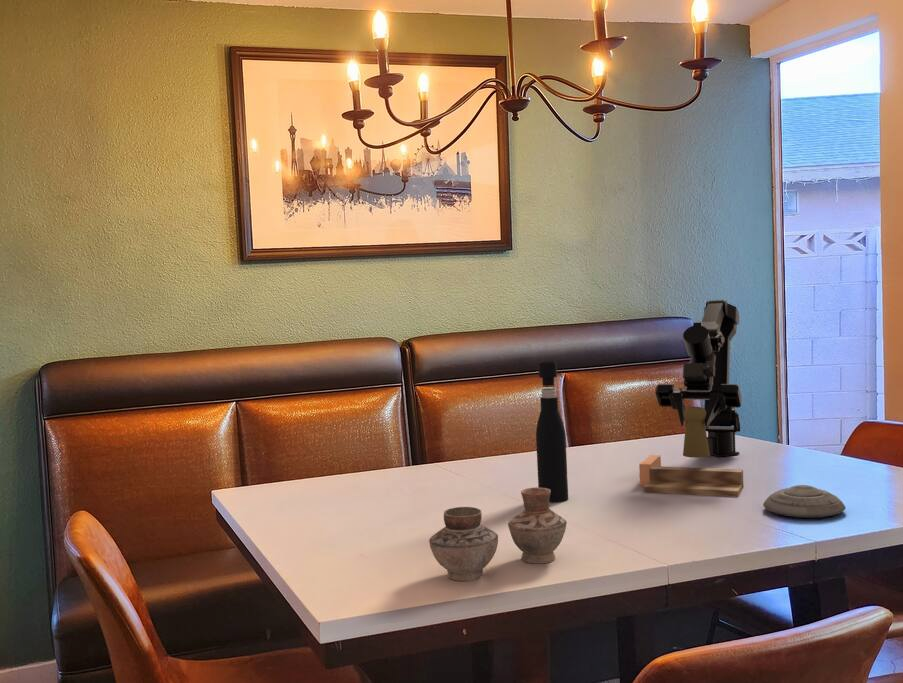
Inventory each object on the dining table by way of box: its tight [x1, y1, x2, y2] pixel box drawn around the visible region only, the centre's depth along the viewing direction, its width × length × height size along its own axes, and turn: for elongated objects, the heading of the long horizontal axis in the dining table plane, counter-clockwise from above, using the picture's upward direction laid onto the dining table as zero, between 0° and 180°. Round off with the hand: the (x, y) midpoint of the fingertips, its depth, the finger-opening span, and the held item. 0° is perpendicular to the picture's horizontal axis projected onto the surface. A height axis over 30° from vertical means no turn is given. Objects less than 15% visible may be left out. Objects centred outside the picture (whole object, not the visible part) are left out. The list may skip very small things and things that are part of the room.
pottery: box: [428, 487, 568, 582], centre depth 151 cm, size 11×25×12 cm, turn 119°
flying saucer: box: [762, 484, 846, 519], centre depth 177 cm, size 15×15×6 cm
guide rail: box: [638, 454, 745, 498], centre depth 204 cm, size 22×17×5 cm
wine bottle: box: [535, 360, 569, 504], centre depth 197 cm, size 6×6×30 cm
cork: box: [682, 406, 711, 459], centre depth 207 cm, size 6×6×11 cm
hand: (693, 425), depth 206 cm, fingers closed on cork, 5 cm apart
